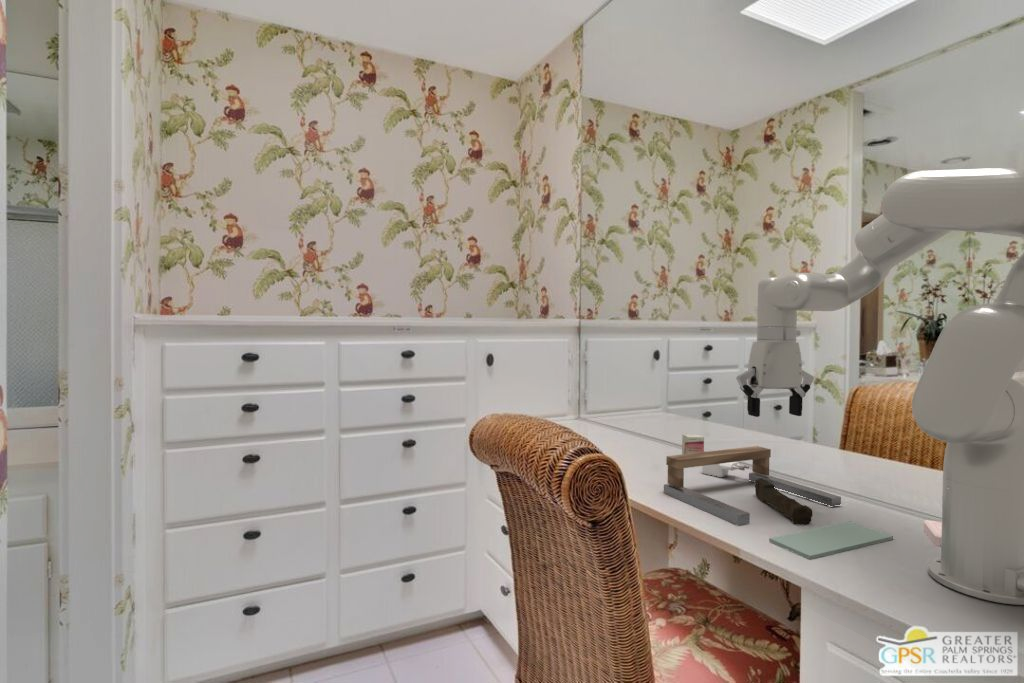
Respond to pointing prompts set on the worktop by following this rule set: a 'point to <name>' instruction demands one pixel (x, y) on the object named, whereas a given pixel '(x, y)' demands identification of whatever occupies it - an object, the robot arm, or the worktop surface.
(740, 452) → the wooden bridge block
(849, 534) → the mat
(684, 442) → the small box
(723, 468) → the power adapter
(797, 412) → the robot arm
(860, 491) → the worktop surface
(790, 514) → the dark brown rough bar
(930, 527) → the soap bar
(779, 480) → the rails
